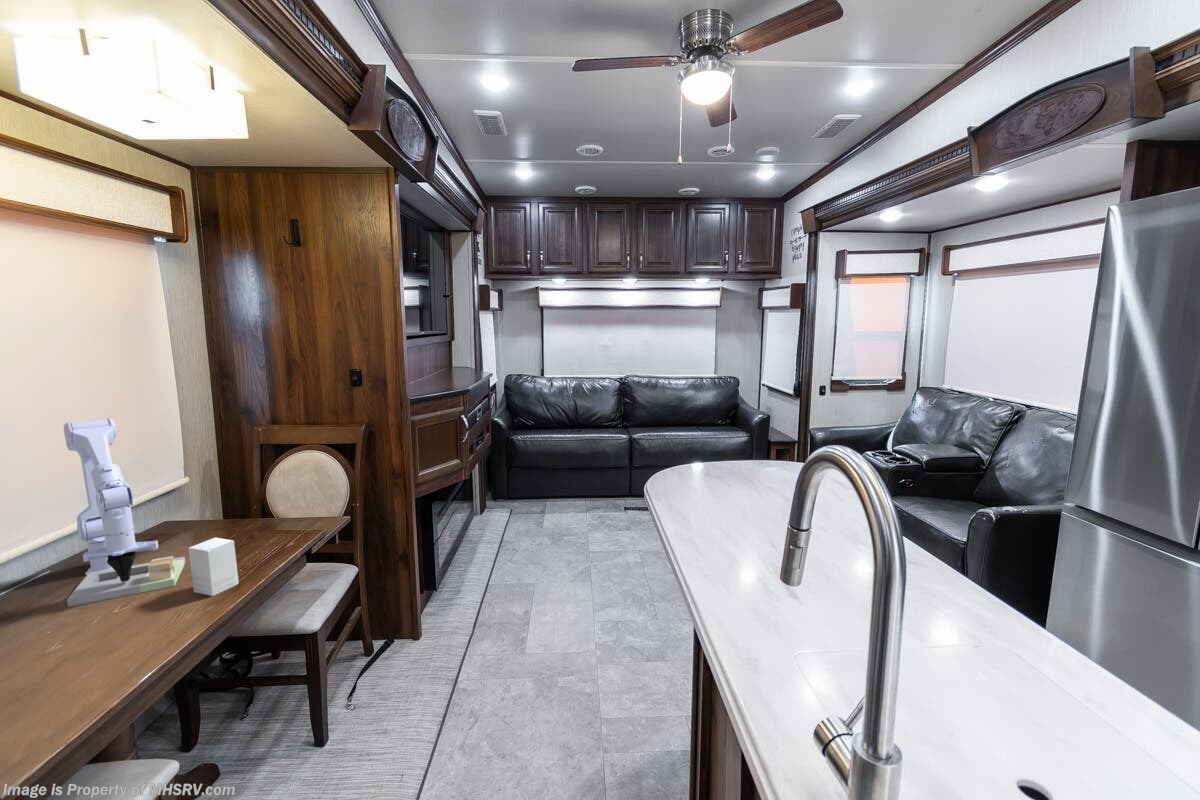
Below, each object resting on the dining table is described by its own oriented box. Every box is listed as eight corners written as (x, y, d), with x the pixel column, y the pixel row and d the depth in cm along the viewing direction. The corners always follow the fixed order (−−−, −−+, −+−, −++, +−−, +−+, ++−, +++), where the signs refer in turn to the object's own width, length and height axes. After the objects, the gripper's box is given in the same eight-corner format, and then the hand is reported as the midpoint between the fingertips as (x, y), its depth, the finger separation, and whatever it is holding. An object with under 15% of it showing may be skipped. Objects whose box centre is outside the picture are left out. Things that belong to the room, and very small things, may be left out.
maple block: (154, 574, 142) (152, 559, 141) (174, 571, 144) (172, 555, 143) (149, 581, 138) (147, 566, 137) (171, 577, 140) (169, 562, 139)
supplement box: (239, 583, 141) (235, 540, 139) (212, 597, 134) (206, 551, 132) (220, 579, 143) (216, 536, 142) (192, 592, 136) (187, 547, 135)
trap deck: (89, 580, 143) (88, 573, 142) (185, 562, 153) (184, 556, 153) (68, 607, 129) (66, 599, 129) (174, 585, 140) (173, 579, 139)
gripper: (75, 542, 128) (83, 593, 130) (151, 531, 135) (157, 579, 137) (85, 533, 134) (92, 581, 136) (157, 522, 141) (163, 568, 143)
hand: (125, 580), depth 137 cm, fingers closed
